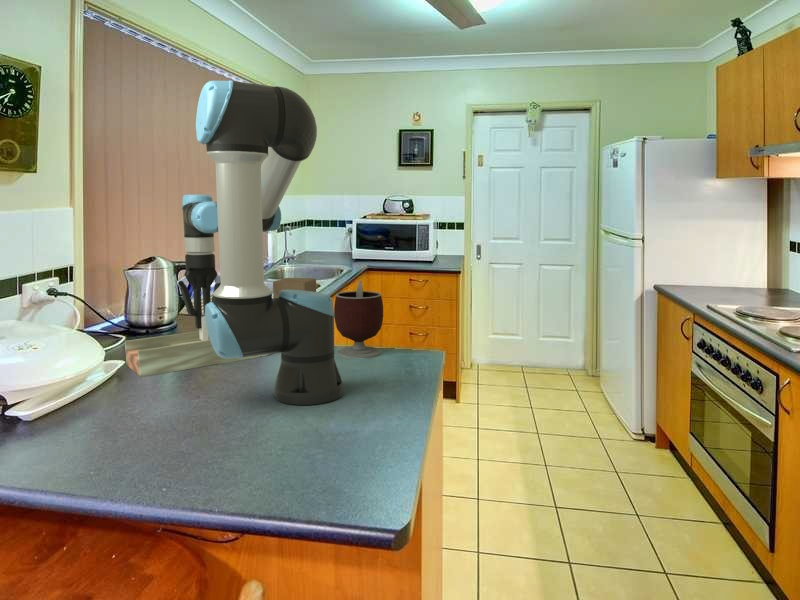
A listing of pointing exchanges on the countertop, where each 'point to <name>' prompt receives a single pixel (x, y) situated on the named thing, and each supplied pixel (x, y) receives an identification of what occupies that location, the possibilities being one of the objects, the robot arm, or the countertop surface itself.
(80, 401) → the countertop surface
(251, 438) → the countertop surface
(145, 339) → the channel runway
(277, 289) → the wooden block
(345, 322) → the mate gourd
